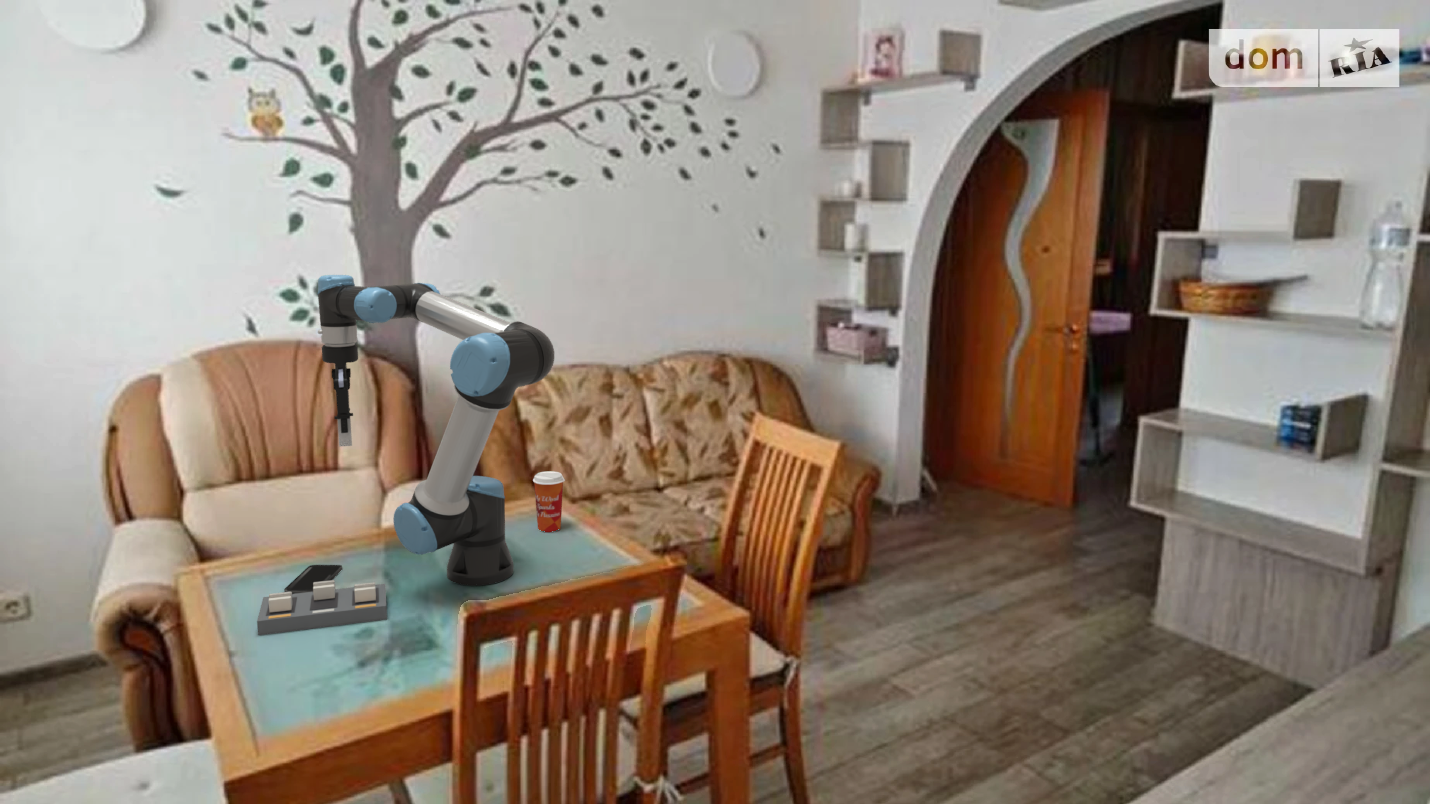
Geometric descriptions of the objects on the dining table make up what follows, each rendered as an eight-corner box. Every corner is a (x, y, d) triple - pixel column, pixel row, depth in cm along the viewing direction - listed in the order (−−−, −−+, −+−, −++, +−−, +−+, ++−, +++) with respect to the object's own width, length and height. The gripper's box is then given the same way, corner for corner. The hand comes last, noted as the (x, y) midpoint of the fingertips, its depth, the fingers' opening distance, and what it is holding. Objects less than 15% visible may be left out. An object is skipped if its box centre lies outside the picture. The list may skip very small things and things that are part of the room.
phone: (282, 590, 199) (310, 564, 213) (282, 595, 199) (310, 569, 214) (318, 590, 199) (344, 564, 214) (319, 595, 199) (344, 569, 214)
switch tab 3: (375, 594, 192) (374, 580, 191) (375, 600, 189) (375, 585, 188) (355, 596, 190) (354, 582, 190) (355, 602, 188) (354, 588, 187)
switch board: (385, 596, 199) (385, 583, 198) (387, 619, 188) (386, 605, 187) (264, 610, 190) (263, 596, 190) (258, 635, 179) (256, 620, 179)
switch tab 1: (292, 604, 186) (291, 589, 185) (291, 609, 183) (290, 595, 183) (270, 606, 185) (269, 591, 184) (269, 612, 182) (268, 597, 181)
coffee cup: (529, 532, 240) (528, 478, 237) (540, 522, 248) (539, 469, 245) (559, 535, 239) (558, 480, 236) (569, 524, 247) (569, 471, 244)
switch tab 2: (335, 592, 192) (334, 578, 192) (334, 597, 190) (333, 583, 189) (314, 594, 191) (313, 580, 190) (313, 600, 188) (312, 585, 187)
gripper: (322, 340, 209) (328, 439, 214) (320, 348, 197) (326, 453, 202) (357, 339, 212) (363, 437, 217) (357, 347, 200) (362, 451, 205)
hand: (345, 445), depth 209 cm, fingers closed
